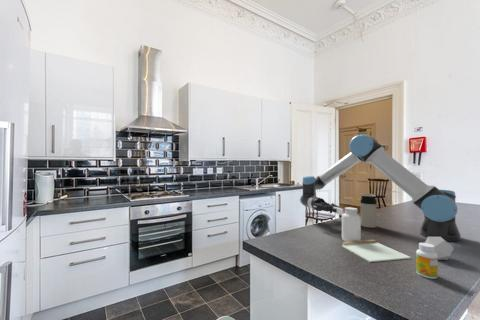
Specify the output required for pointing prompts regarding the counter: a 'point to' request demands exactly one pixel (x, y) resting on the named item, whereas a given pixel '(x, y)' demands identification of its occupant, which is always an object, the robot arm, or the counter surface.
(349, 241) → the stop strip
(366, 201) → the travel mug
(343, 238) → the pill bottle
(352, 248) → the mat
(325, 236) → the counter surface
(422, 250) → the supplement bottle
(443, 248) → the die
